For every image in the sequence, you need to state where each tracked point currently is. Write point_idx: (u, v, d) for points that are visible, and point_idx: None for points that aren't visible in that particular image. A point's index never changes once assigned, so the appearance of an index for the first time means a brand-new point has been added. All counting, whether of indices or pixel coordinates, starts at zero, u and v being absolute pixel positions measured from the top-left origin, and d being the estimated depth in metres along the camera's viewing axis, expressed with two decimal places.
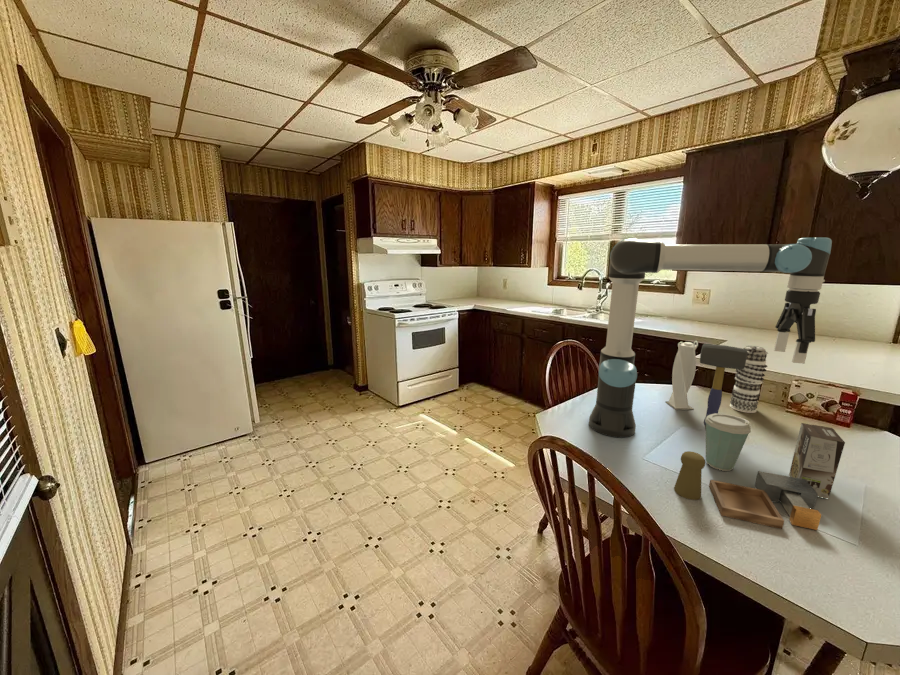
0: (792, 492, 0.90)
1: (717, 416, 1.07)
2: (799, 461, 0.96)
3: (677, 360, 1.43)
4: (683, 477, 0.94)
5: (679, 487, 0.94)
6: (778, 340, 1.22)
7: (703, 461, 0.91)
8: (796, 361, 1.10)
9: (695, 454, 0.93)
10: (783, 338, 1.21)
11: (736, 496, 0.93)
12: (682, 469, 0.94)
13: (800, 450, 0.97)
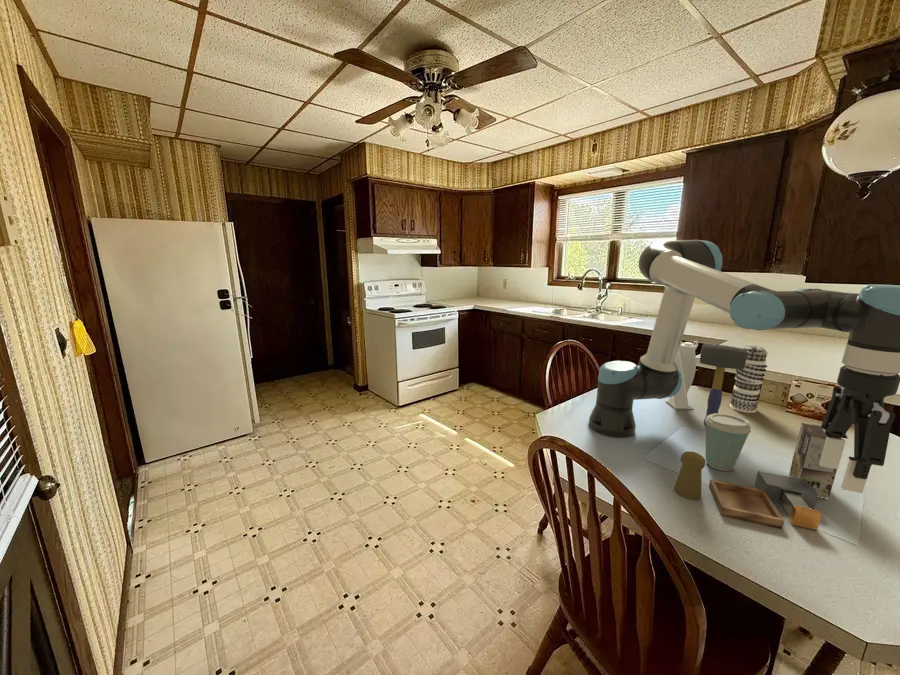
0: (792, 492, 0.90)
1: (717, 416, 1.07)
2: (799, 461, 0.96)
3: (677, 360, 1.43)
4: (683, 477, 0.94)
5: (679, 487, 0.94)
6: (827, 450, 0.76)
7: (703, 461, 0.91)
8: (848, 488, 0.69)
9: (695, 454, 0.93)
10: (835, 448, 0.76)
11: (736, 496, 0.93)
12: (682, 469, 0.94)
13: (800, 450, 0.97)
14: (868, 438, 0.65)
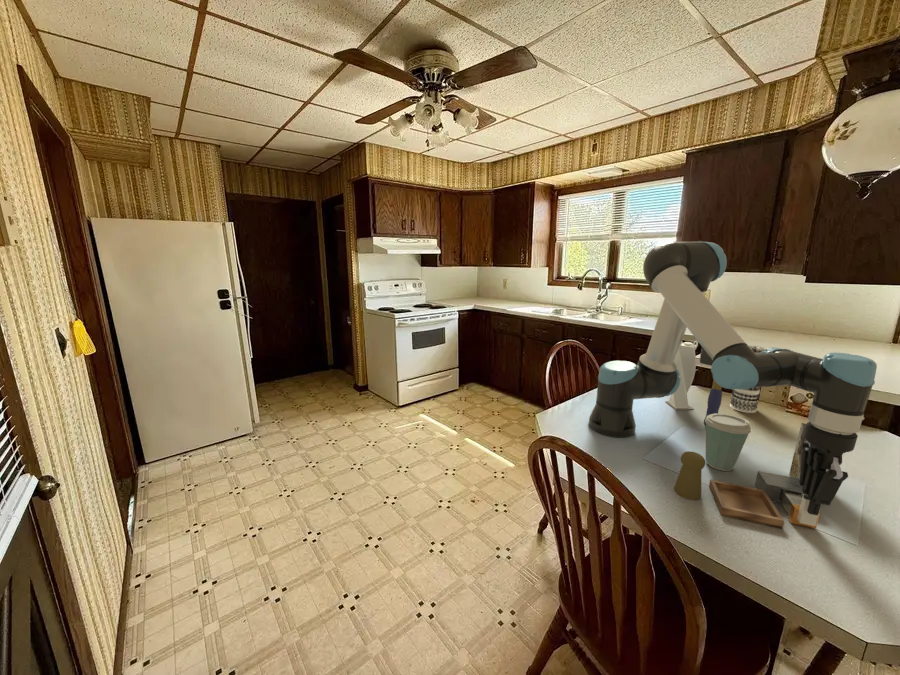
0: (791, 491, 0.90)
1: (717, 416, 1.07)
2: (799, 461, 0.96)
3: (677, 360, 1.43)
4: (683, 477, 0.94)
5: (679, 487, 0.94)
6: None
7: (703, 461, 0.91)
8: (803, 522, 0.82)
9: (695, 454, 0.93)
10: None
11: (736, 496, 0.93)
12: (682, 469, 0.94)
13: (800, 450, 0.97)
14: (821, 487, 0.76)
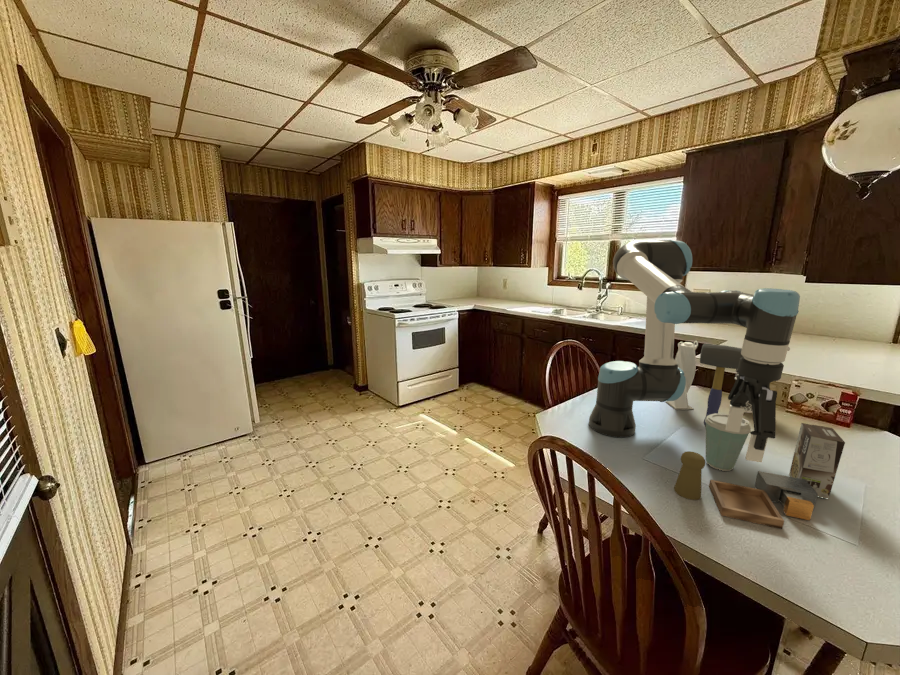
0: None
1: (717, 416, 1.07)
2: (799, 461, 0.96)
3: (677, 360, 1.43)
4: (683, 477, 0.94)
5: (679, 487, 0.94)
6: (731, 417, 0.92)
7: (703, 461, 0.91)
8: (750, 459, 0.80)
9: (695, 454, 0.93)
10: (737, 415, 0.91)
11: (736, 496, 0.93)
12: (682, 469, 0.94)
13: (800, 450, 0.97)
14: (760, 413, 0.77)
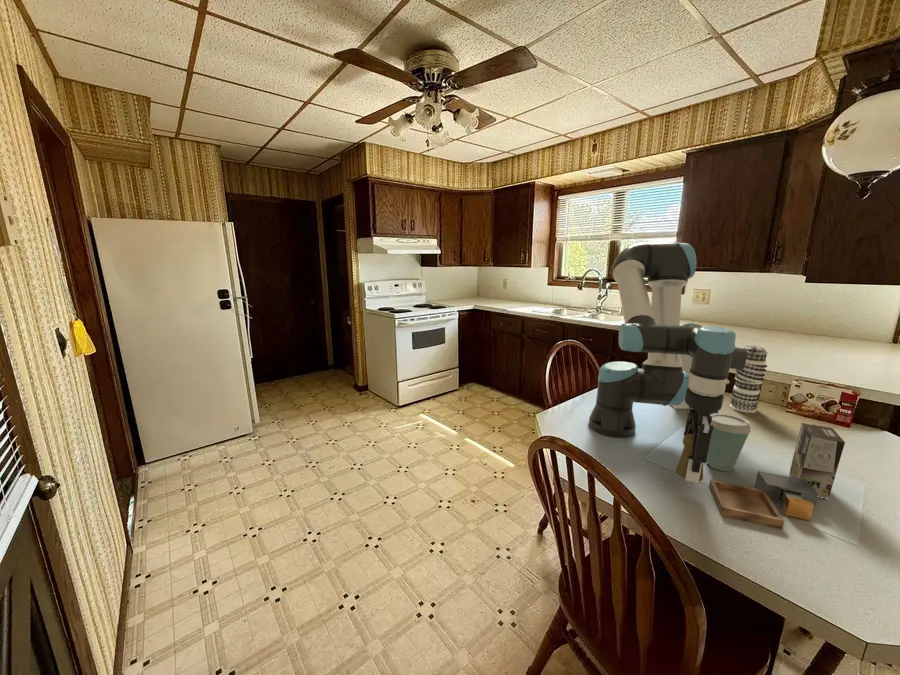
0: None
1: (717, 416, 1.07)
2: (799, 461, 0.96)
3: None
4: (684, 459, 0.93)
5: (681, 469, 0.94)
6: None
7: None
8: (689, 479, 0.92)
9: None
10: None
11: (736, 496, 0.93)
12: (684, 451, 0.94)
13: (800, 450, 0.97)
14: (696, 443, 0.87)
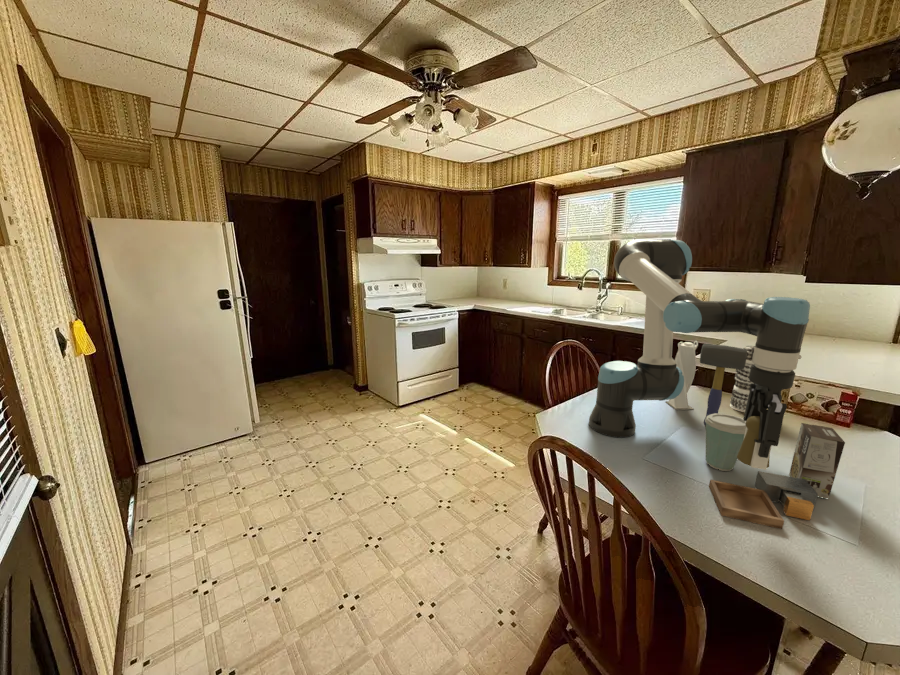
0: None
1: (717, 416, 1.07)
2: (799, 461, 0.96)
3: (677, 360, 1.43)
4: (749, 444, 0.85)
5: (744, 455, 0.86)
6: None
7: None
8: (755, 466, 0.84)
9: None
10: None
11: (736, 496, 0.93)
12: (748, 435, 0.86)
13: (800, 450, 0.97)
14: (767, 424, 0.79)
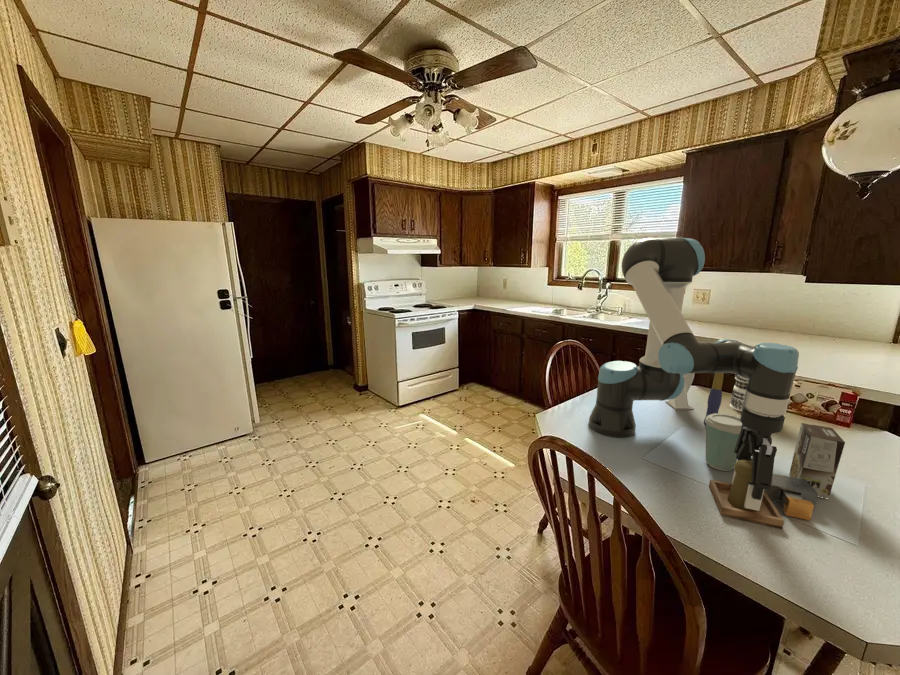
0: None
1: (717, 416, 1.07)
2: (799, 461, 0.96)
3: None
4: (738, 488, 0.88)
5: (734, 498, 0.89)
6: None
7: None
8: (748, 507, 0.85)
9: (750, 463, 0.88)
10: None
11: None
12: (736, 479, 0.89)
13: (800, 450, 0.97)
14: (759, 467, 0.81)
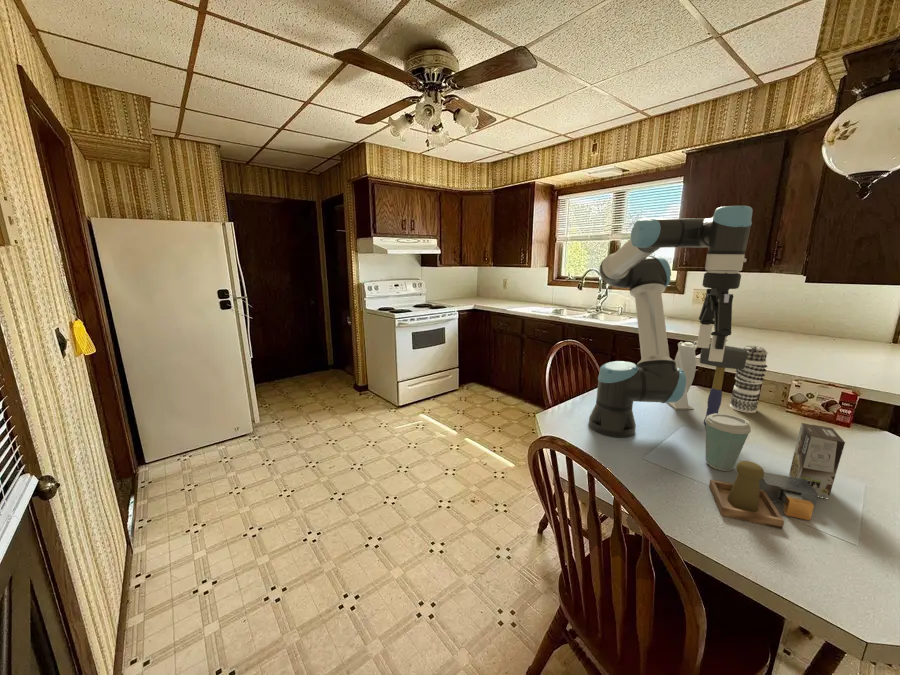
0: None
1: (717, 416, 1.07)
2: (799, 461, 0.96)
3: (677, 360, 1.43)
4: (739, 488, 0.88)
5: (735, 499, 0.89)
6: (700, 334, 1.02)
7: (762, 471, 0.86)
8: (712, 359, 0.90)
9: (752, 464, 0.88)
10: (706, 332, 1.01)
11: None
12: (738, 479, 0.89)
13: (800, 450, 0.97)
14: (719, 315, 0.87)
